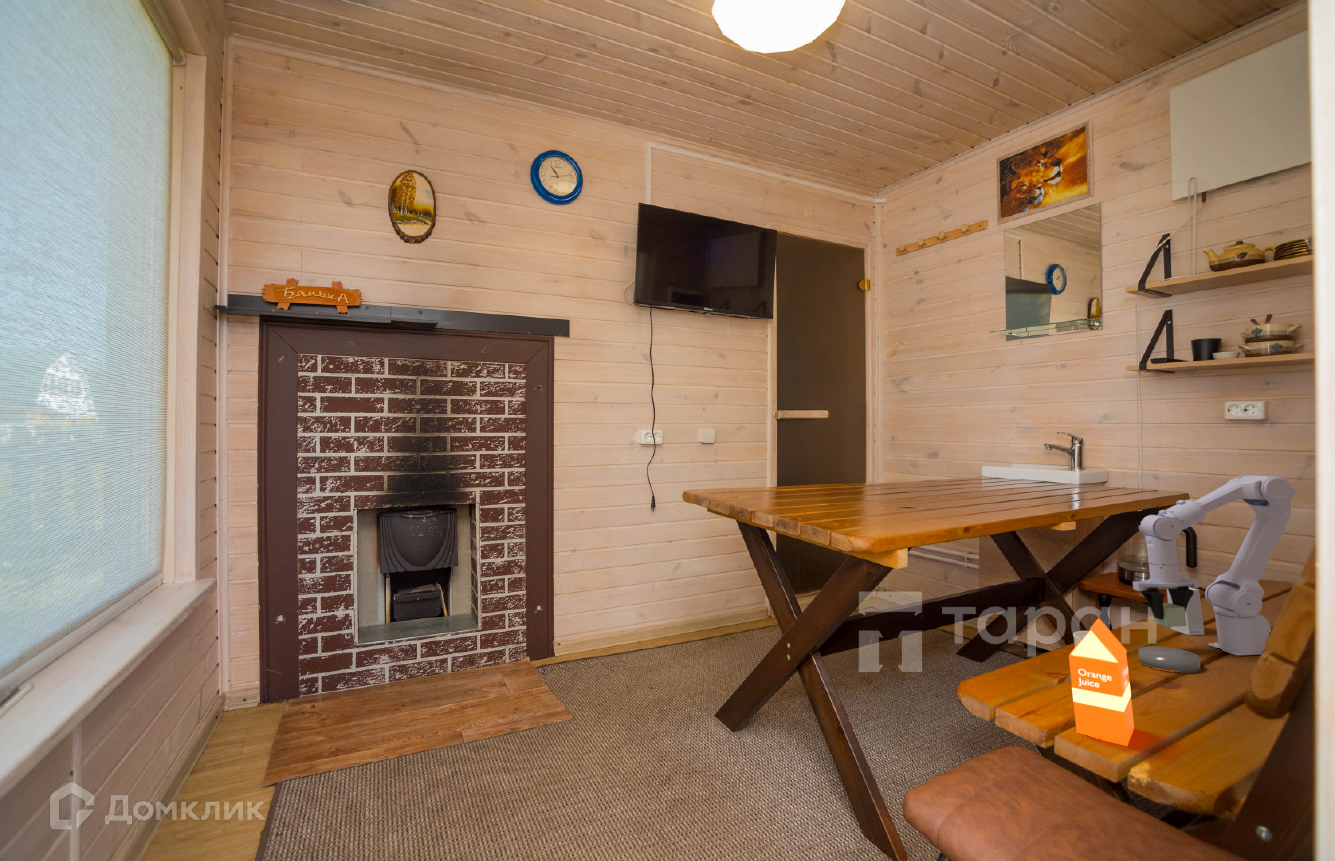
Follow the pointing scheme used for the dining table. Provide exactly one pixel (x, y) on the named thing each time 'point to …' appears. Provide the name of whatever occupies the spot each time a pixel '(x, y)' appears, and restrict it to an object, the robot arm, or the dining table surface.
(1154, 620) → the green cube
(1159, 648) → the charcoal base
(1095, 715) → the orange juice
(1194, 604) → the skincare box
